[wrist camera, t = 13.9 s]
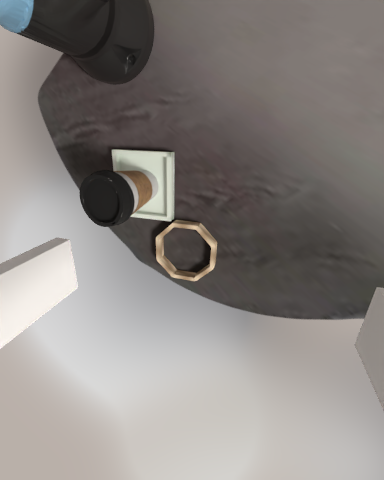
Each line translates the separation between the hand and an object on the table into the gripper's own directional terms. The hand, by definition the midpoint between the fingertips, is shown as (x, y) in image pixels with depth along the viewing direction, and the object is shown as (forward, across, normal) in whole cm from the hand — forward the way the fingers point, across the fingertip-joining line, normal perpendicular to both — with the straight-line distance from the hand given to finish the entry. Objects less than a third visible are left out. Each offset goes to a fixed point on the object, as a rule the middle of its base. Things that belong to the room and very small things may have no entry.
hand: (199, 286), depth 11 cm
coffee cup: (+36, -20, -3) cm, 42 cm away
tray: (+37, -20, -3) cm, 42 cm away
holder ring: (+37, -11, -16) cm, 42 cm away
